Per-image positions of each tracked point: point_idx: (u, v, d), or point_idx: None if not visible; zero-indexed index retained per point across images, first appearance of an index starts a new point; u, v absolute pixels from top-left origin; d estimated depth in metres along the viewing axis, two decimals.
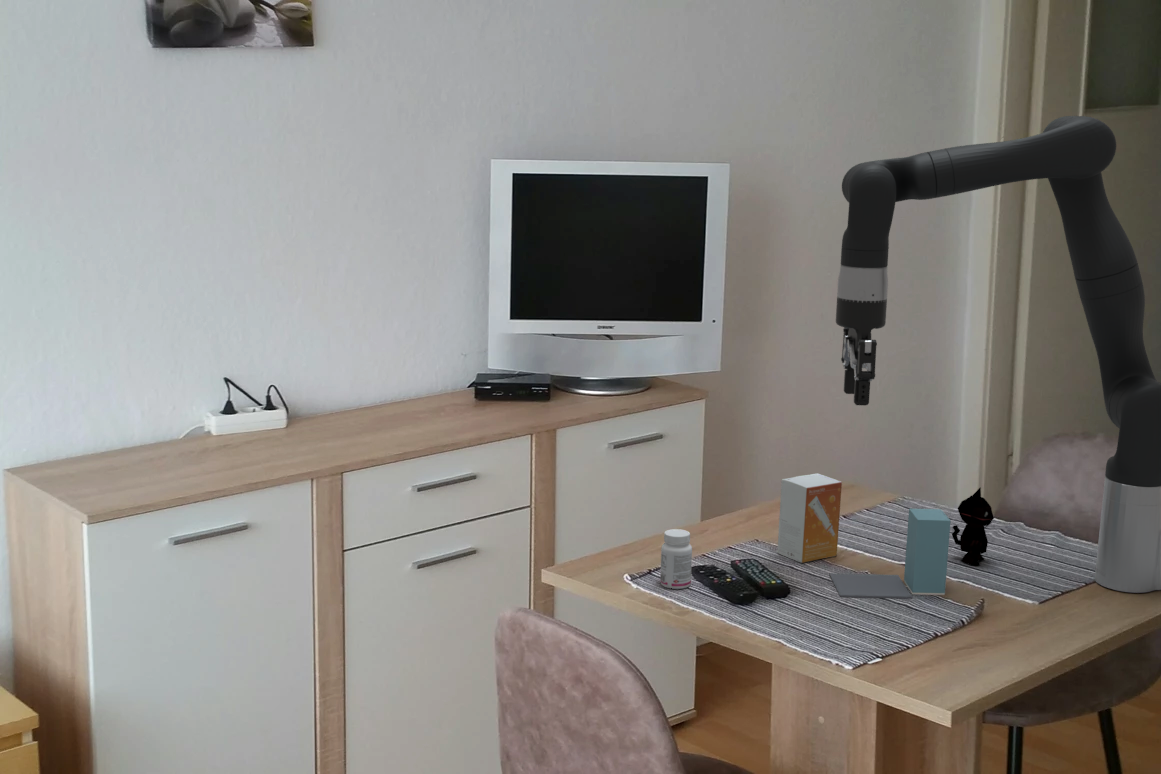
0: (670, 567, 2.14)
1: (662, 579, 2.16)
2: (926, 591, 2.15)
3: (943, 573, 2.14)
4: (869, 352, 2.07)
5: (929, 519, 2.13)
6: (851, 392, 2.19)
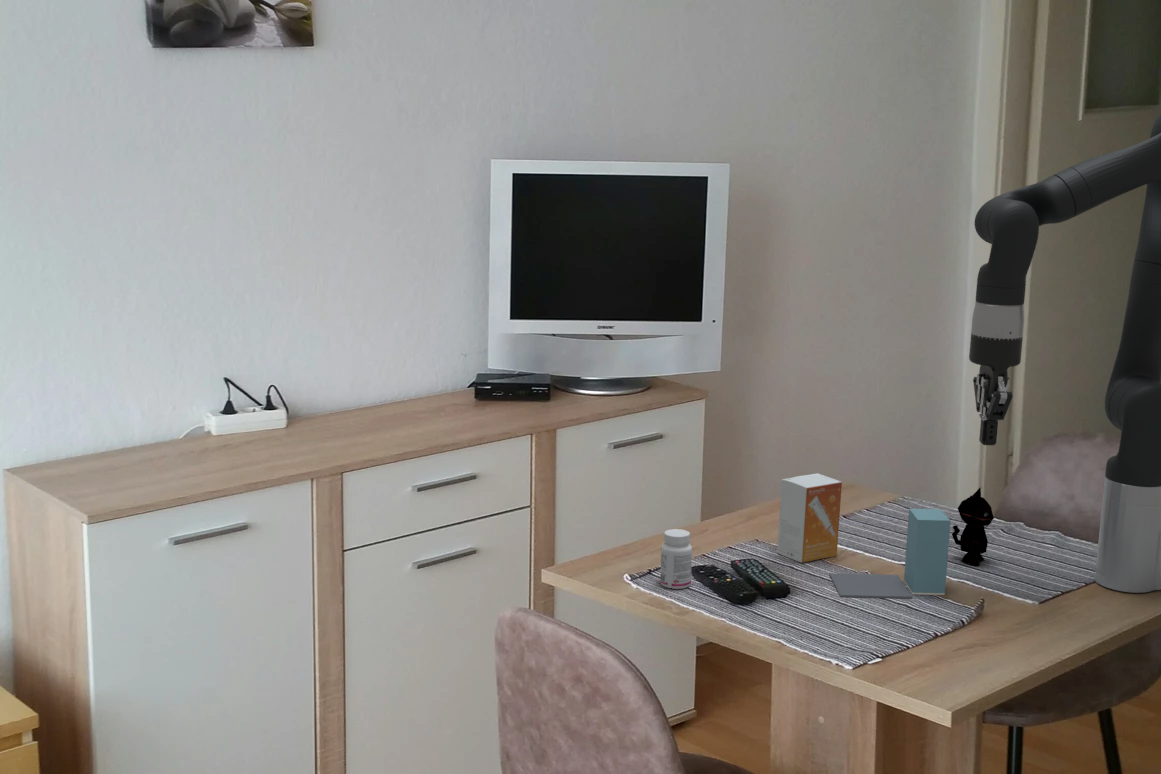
0: (670, 567, 2.14)
1: (662, 579, 2.16)
2: (926, 591, 2.15)
3: (943, 573, 2.14)
4: (1003, 403, 2.06)
5: (929, 519, 2.13)
6: None
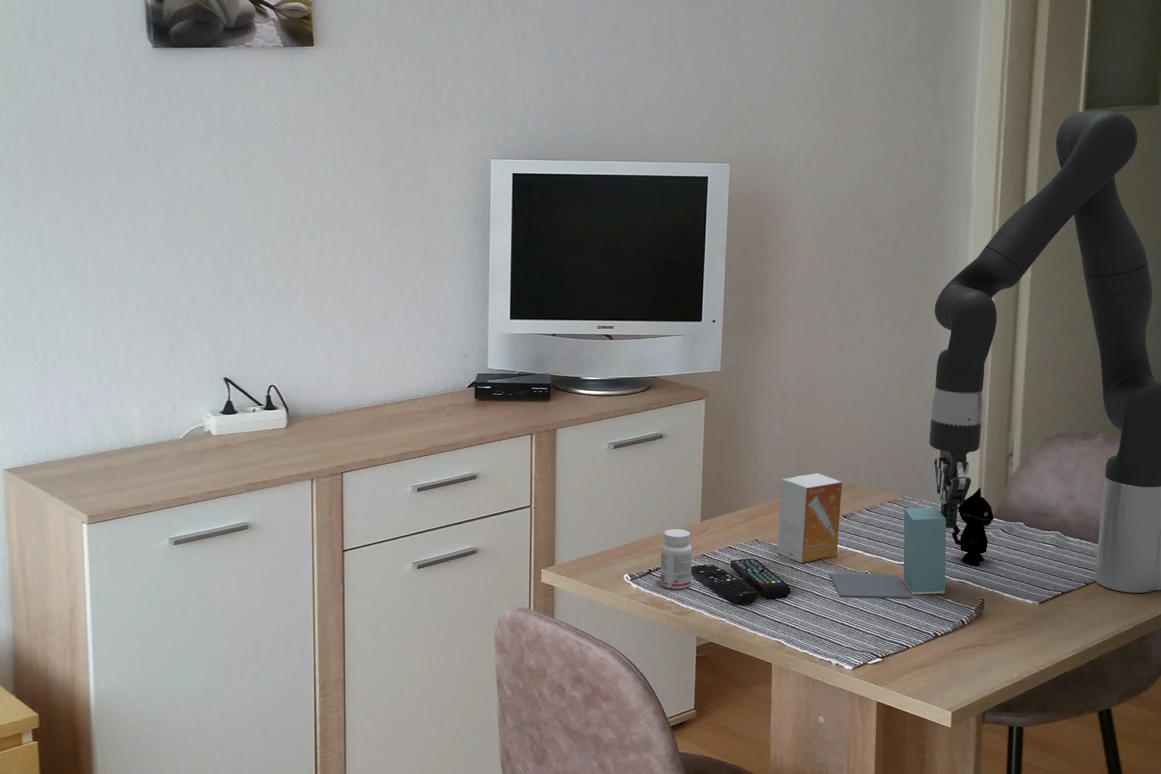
0: (670, 567, 2.14)
1: (662, 579, 2.16)
2: (926, 590, 2.15)
3: (942, 571, 2.14)
4: (962, 489, 2.09)
5: (924, 518, 2.13)
6: None
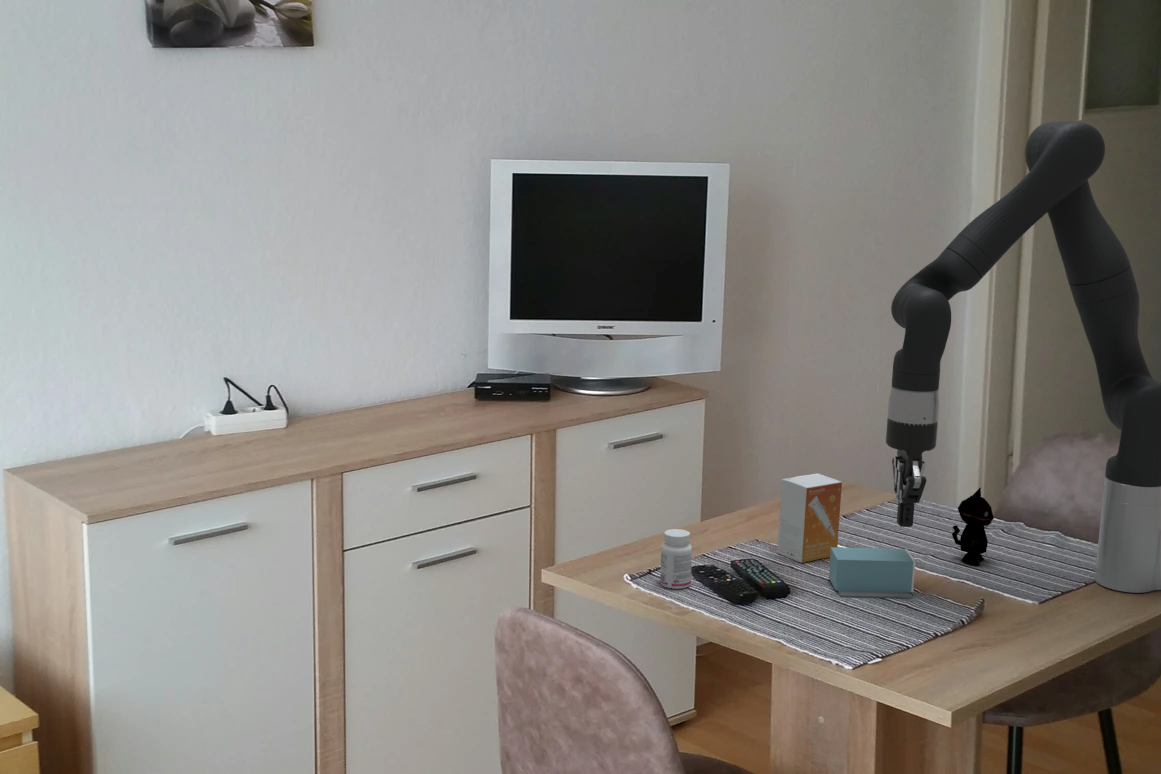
0: (670, 567, 2.14)
1: (662, 579, 2.16)
2: (910, 579, 2.14)
3: (892, 563, 2.14)
4: (917, 488, 2.09)
5: (835, 577, 2.15)
6: None
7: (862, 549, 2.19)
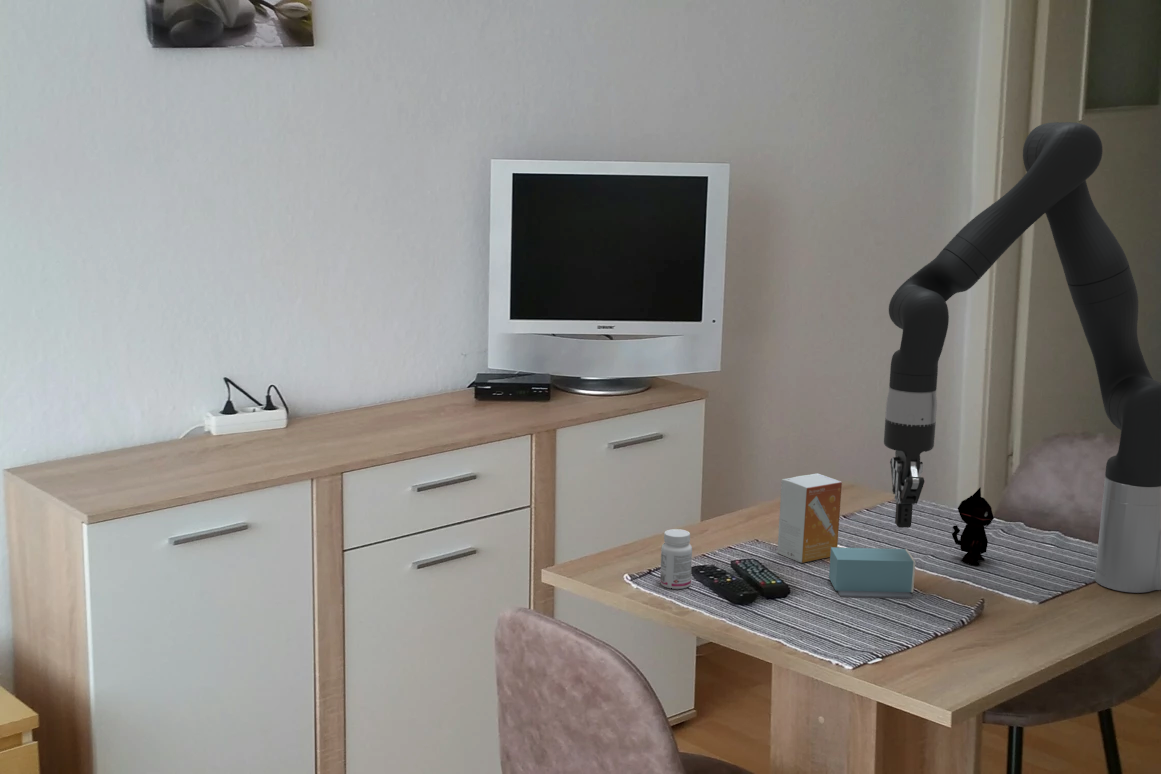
0: (670, 567, 2.14)
1: (662, 579, 2.16)
2: (910, 579, 2.14)
3: (892, 563, 2.14)
4: (915, 489, 2.09)
5: (835, 577, 2.15)
6: None
7: (862, 549, 2.19)
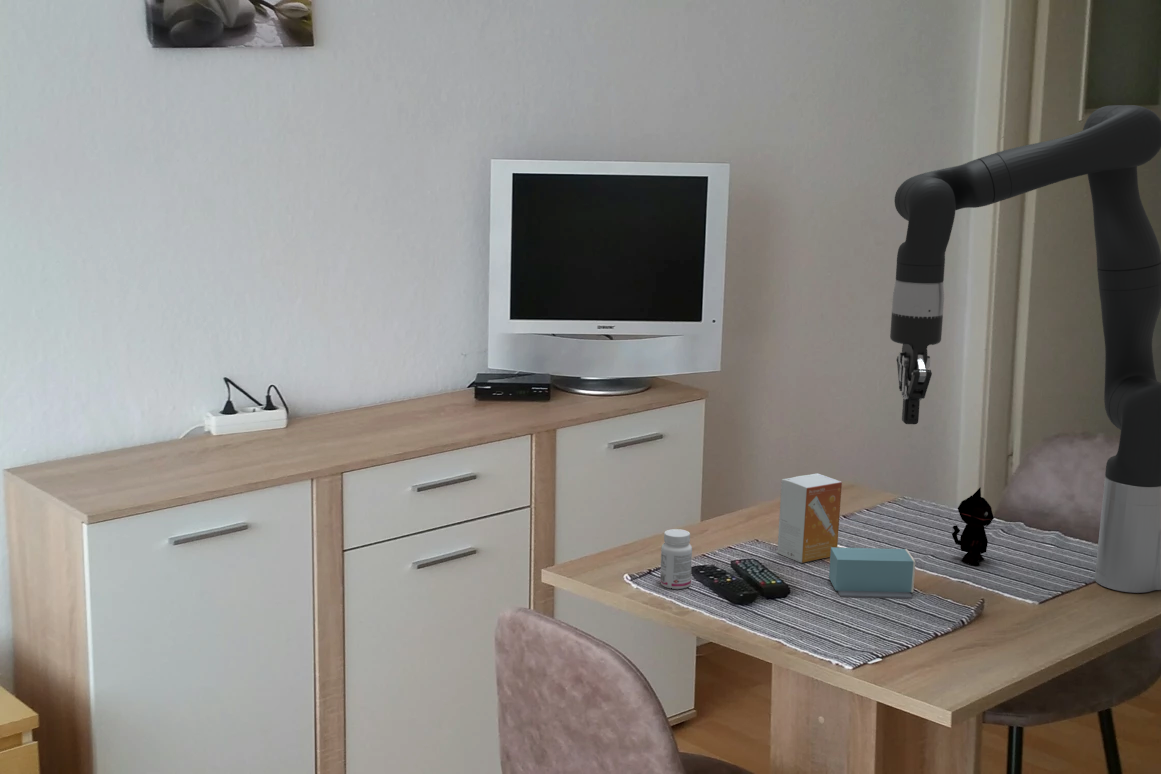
0: (670, 567, 2.14)
1: (662, 579, 2.16)
2: (910, 579, 2.14)
3: (892, 563, 2.14)
4: (922, 382, 2.06)
5: (835, 577, 2.15)
6: None
7: (862, 549, 2.19)
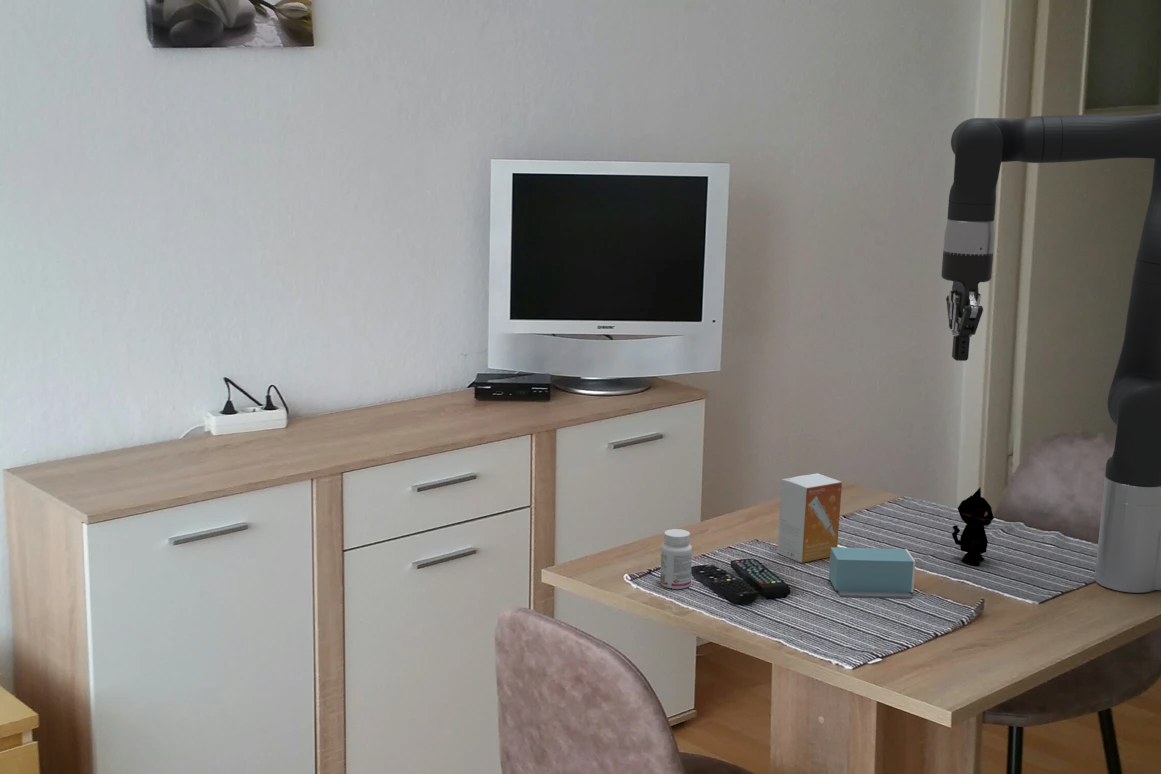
0: (670, 567, 2.14)
1: (662, 579, 2.16)
2: (910, 579, 2.14)
3: (892, 563, 2.14)
4: (974, 317, 2.12)
5: (835, 577, 2.15)
6: None
7: (862, 549, 2.19)
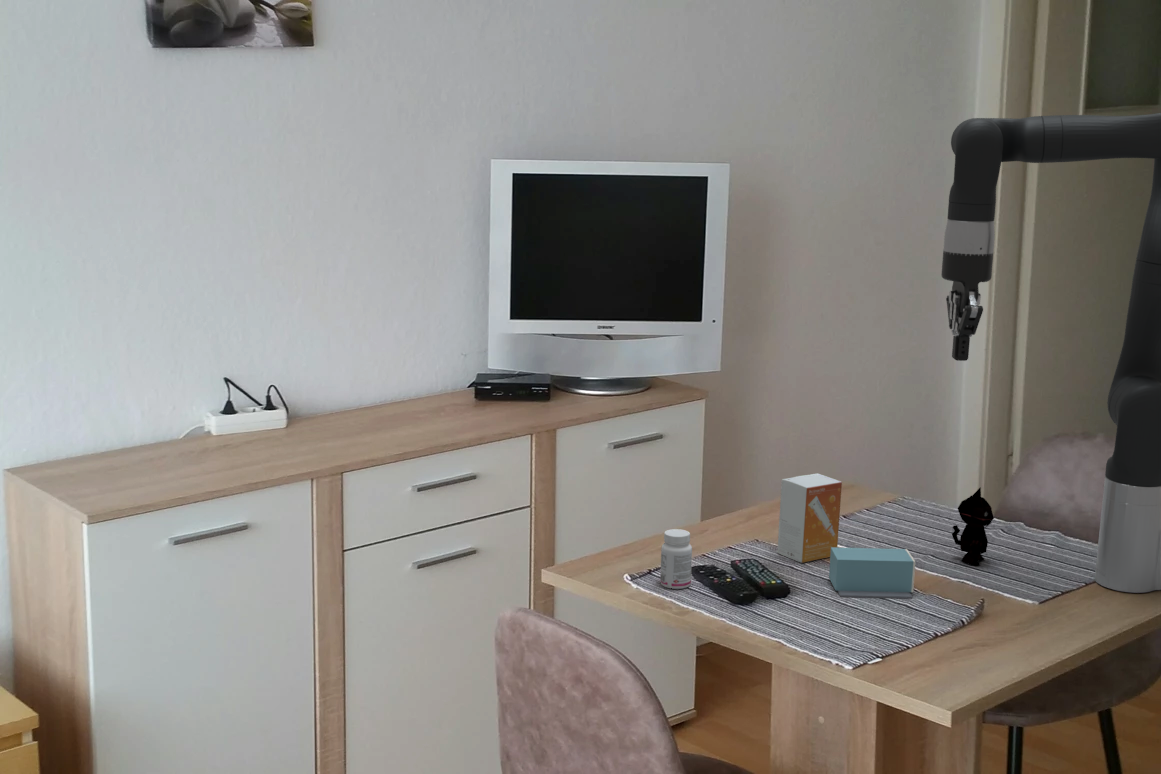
0: (670, 567, 2.14)
1: (662, 579, 2.16)
2: (910, 579, 2.14)
3: (892, 563, 2.14)
4: (974, 317, 2.12)
5: (835, 577, 2.15)
6: None
7: (862, 549, 2.19)
